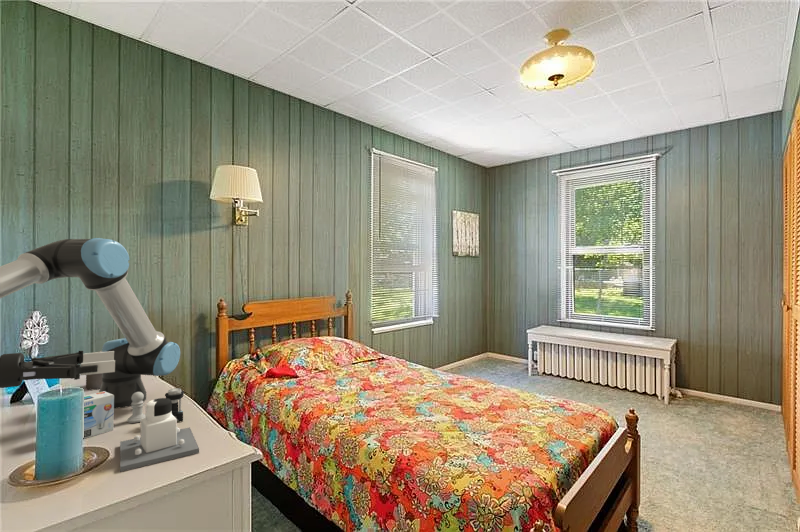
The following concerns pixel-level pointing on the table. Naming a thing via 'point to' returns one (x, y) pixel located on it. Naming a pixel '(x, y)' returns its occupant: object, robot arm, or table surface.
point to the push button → (176, 402)
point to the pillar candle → (94, 380)
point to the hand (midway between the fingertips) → (114, 360)
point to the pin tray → (137, 457)
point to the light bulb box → (98, 413)
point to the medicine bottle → (158, 426)
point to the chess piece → (137, 408)
